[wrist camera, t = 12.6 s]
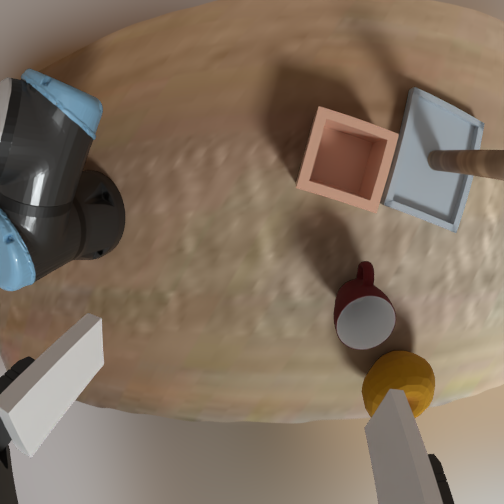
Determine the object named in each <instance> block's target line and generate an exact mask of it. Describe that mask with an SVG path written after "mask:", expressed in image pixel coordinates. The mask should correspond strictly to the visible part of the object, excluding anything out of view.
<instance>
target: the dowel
mask: <svg viewBox="0 0 504 504" xmlns="http://www.w3.org/2000/svg"><path fill="white" fill-rule="evenodd" d="M427 160H428V165H429V166H430V168H431V169H433V170H435V171H443V172H451V173H459V174H466V175H473V176H480V177H486V178H492V179H498V180H504V150H434V151H431V152H430V153H429V155H428V159H427Z"/></svg>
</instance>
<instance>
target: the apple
mask: <svg viewBox="0 0 504 504" xmlns="http://www.w3.org/2000/svg"><path fill="white" fill-rule="evenodd" d="M389 389H397V390H404V393H405V395H406V398H407V400H408V403H409V405H410V408H411V410H412V413H413V416H414V418H416V417H418V416H419V415H420V414H421V413H422V412H423V411H424V410H425V409H426V408H427V407H428V406H429V405H430V403H431V401H432V399H433V395H434V389H435V376H434V373H433V370H432V368H431V366H430V364H429V363H428V362H427V361H426V360H425V359H424V358H422V357H420V356H418V355H416V354H414V353H411V352H408V351H392V352H389V353H387V354H385V355H383V356H382V357H381V358H379V359H378V360H377V361H376V362H375V363H374V365H373V366H372V368H371V369H370V371H369V372H368V373H367V375H366V377H365V379H364V382H363V386H362V395H363V400H364V404H365V408H366V410H367V412H368V413H369V415H370V417H372V416H373V414H374V413H375V411H376V410H377V408H378V407H379V405H380V404H381V402H382V400H383V399H384V397H385V396H386V394H387V392H388V391H389Z"/></svg>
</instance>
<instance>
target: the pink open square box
mask: <svg viewBox="0 0 504 504" xmlns="http://www.w3.org/2000/svg"><path fill="white" fill-rule="evenodd" d="M398 136H399V134H397V133H395V132H392V131H389V130H387V129H384V128H382V127H379V126H376V125H374V124H371V123H368V122H366V121H363V120H360V119H357V118H354V117H351V116H348V115H345V114H342V113H339V112H336V111H333V110H330V109H326V108H323V107H320V106H319V107H318V109H317V111H316V113H315V115H314V118H313V122H312V126H311V130H310V133H309V137H308V141H307V144H306V148H305V152H304V155H303V159H302V162H301V166H300V169H299V173H298V177H297V180H296V188H298V189H302V190H305V191H308V192H312V193H315V194H318V195H322V196H325V197H328V198H331V199H334V200H338V201H341V202H344V203H347V204H350V205H353V206H356V207H359V208H362V209H365V210H368V211H371V212H374V213H377V210H378V207H379V203H380V200H381V197H382V194H383V191H384V187H385V184H386V180H387V177H388V174H389V170H390V166H391V163H392V159H393V156H394V152H395V148H396V144H397V140H398Z"/></svg>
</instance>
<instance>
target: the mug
mask: <svg viewBox="0 0 504 504" xmlns="http://www.w3.org/2000/svg"><path fill="white" fill-rule="evenodd" d="M373 283H374V269H373V266H372V264H371V263H370V262H368V261H363V262H361V263H360V264H359V267H358V272H357V278H356V279H354V280H351V281H349V282H347V283H345V284H344V285H343V286H342V287H341V288H340V289H339V291H338V293H337V296H336V300H335V308H334V324H335V329H336V332H337V335H338V337H339V339H340V340H341V342H342V343H343V344H345V345H346V346H348V347H350V348H352V349H357V350H366V349H371V348H374V347H376V346H378V345H380V344H381V343H383V342H384V341H385V340H386V339H387V338H388V337H389V336H390V335H391V333H392V331H393V329H394V327H395V323H396V313H395V310H394V308H393V306H392V304H391V302H390V300H389V299H388V297H387V296H386V295H385V294H384V293H383V292H382V291H381V290H380V289H378V288H377V287H376V286H374V285H373Z"/></svg>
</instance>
